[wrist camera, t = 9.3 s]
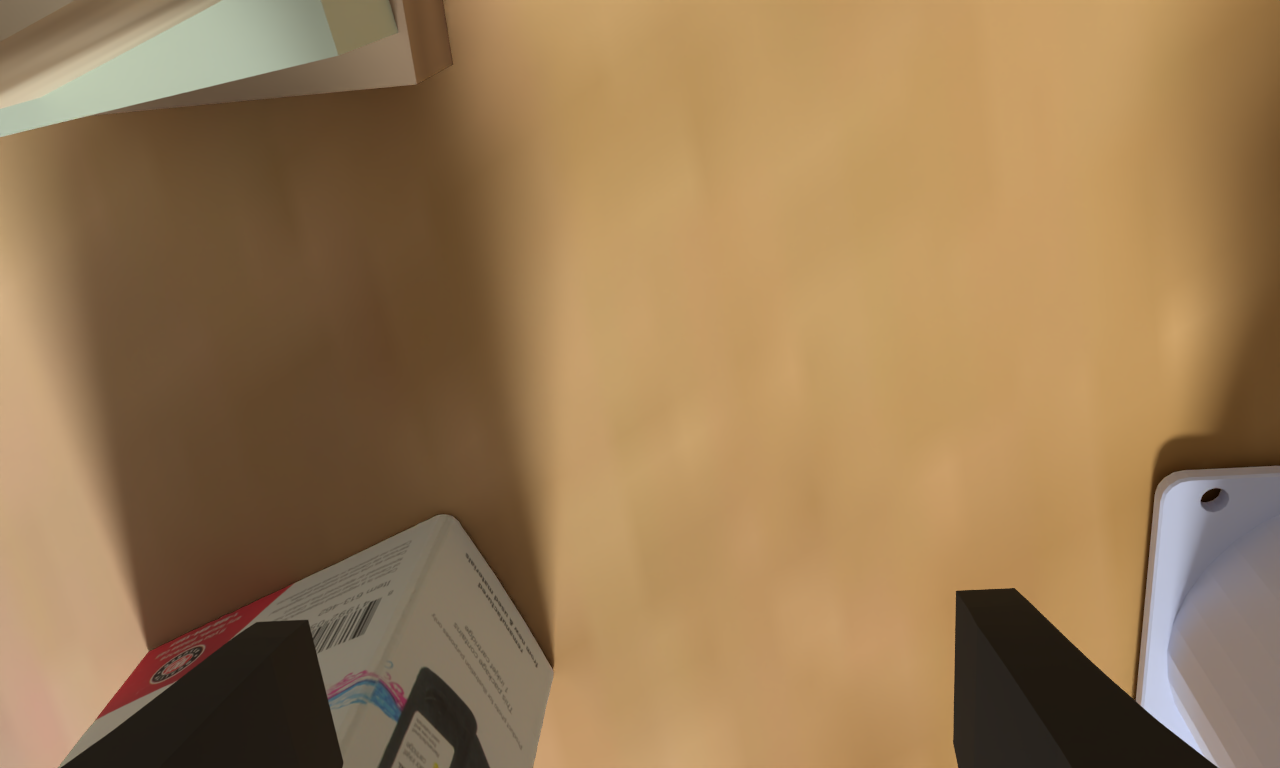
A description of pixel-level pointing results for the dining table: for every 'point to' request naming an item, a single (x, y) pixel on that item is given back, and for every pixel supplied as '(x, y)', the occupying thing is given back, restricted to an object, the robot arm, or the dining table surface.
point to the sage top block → (211, 55)
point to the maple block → (75, 38)
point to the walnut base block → (342, 65)
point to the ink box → (392, 656)
